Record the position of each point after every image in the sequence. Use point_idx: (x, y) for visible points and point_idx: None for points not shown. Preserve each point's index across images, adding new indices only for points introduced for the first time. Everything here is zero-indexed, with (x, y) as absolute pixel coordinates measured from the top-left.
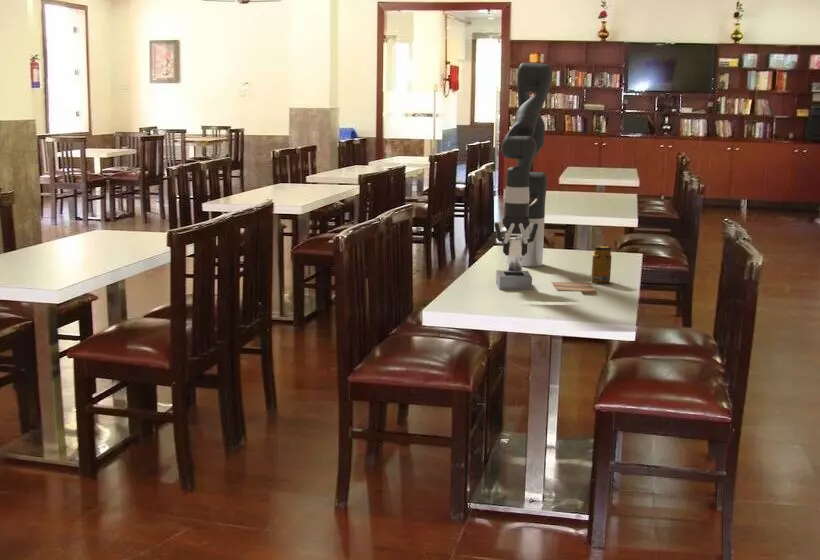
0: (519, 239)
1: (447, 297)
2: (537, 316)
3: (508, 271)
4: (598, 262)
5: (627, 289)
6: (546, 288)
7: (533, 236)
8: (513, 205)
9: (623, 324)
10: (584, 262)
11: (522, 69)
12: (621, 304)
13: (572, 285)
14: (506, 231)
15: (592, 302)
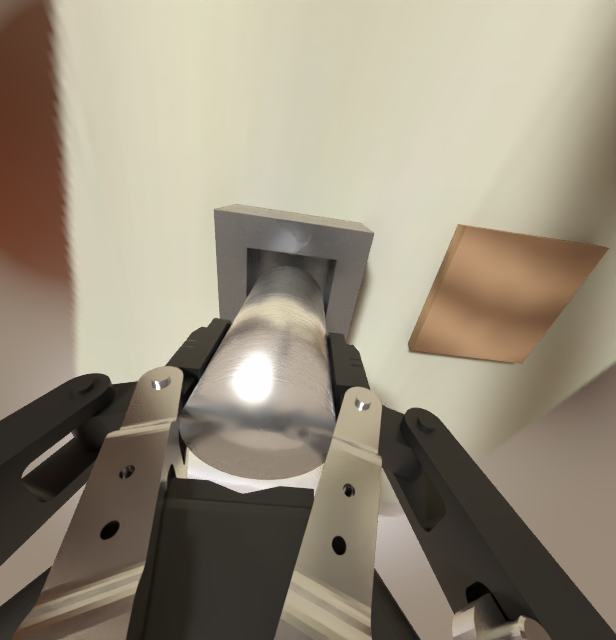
0: (290, 465)
1: (90, 355)
2: (285, 478)
3: (273, 242)
4: None
5: None
6: (415, 267)
7: (427, 508)
8: None
9: (400, 510)
10: None
11: None
12: (492, 433)
13: (505, 292)
14: (103, 485)
15: (442, 417)
